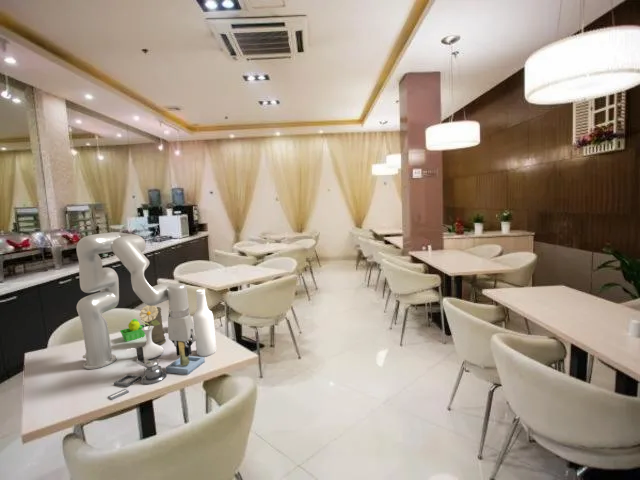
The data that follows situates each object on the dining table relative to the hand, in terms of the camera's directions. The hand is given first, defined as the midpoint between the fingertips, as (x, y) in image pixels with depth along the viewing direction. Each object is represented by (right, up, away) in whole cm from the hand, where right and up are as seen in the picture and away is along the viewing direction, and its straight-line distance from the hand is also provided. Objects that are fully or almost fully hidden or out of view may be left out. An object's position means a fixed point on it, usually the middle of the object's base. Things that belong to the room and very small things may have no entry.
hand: (184, 354), depth 146 cm
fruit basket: (-42, -4, +38) cm, 57 cm away
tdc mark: (-17, -9, -19) cm, 27 cm away
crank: (-13, -3, -6) cm, 14 cm away
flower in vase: (-20, -6, +13) cm, 25 cm away
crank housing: (-13, -7, -8) cm, 17 cm away
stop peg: (0, -4, 0) cm, 4 cm away
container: (-26, -4, +29) cm, 39 cm away
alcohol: (+5, -4, +14) cm, 15 cm away
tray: (+1, -6, +1) cm, 6 cm away
